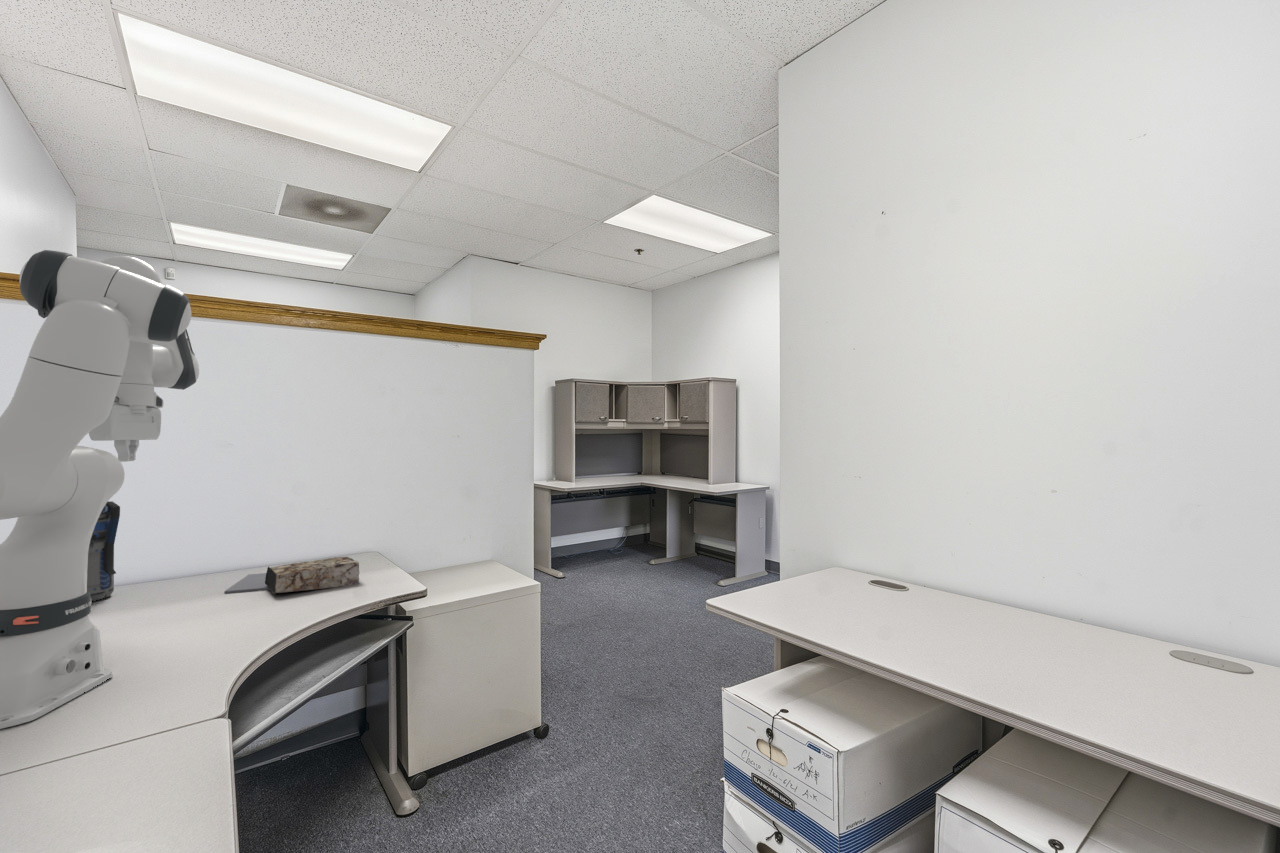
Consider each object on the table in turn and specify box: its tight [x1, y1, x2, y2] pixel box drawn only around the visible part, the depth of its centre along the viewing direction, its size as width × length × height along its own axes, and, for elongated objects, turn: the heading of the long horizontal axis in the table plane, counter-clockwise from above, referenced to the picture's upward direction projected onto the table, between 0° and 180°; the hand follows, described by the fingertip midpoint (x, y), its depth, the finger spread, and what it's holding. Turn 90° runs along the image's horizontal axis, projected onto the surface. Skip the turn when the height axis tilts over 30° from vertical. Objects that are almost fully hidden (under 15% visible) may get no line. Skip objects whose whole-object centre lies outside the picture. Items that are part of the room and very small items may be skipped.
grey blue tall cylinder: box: [87, 500, 121, 603], centre depth 136 cm, size 10×13×25 cm
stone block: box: [265, 556, 360, 595], centre depth 148 cm, size 13×7×20 cm
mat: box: [223, 572, 270, 594], centre depth 152 cm, size 18×18×1 cm
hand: (126, 461), depth 120 cm, fingers closed
